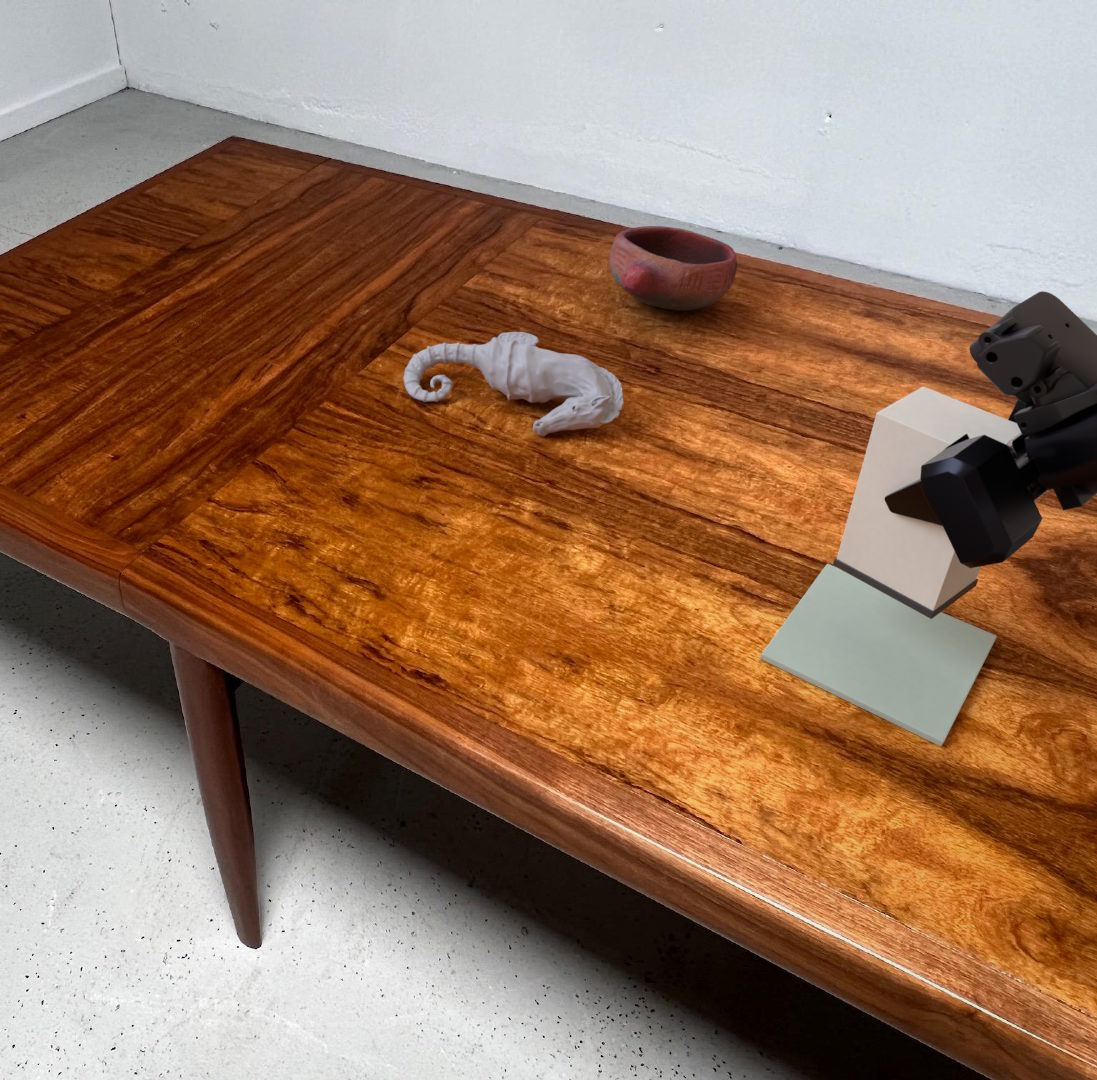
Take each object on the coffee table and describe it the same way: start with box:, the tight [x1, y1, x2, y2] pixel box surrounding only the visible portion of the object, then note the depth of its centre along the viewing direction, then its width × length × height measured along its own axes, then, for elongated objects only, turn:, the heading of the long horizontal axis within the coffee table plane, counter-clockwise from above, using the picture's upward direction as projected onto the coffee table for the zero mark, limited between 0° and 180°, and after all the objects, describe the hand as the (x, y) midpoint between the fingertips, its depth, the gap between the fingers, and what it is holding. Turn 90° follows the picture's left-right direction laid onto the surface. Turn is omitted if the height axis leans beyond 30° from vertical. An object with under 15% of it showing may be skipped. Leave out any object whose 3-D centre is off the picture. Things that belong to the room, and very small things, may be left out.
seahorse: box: [402, 331, 624, 437], centre depth 95 cm, size 5×12×20 cm
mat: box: [759, 563, 998, 747], centre depth 73 cm, size 12×12×1 cm
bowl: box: [609, 225, 738, 311], centre depth 107 cm, size 16×13×8 cm
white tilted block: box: [832, 386, 1021, 619], centre depth 67 cm, size 5×7×12 cm
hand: (911, 488), depth 68 cm, fingers closed on white tilted block, 5 cm apart
